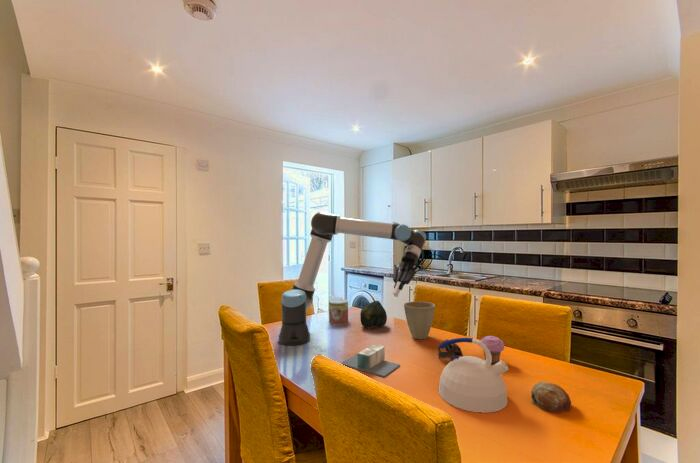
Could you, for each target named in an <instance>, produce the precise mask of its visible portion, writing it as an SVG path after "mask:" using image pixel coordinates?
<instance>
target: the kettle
mask: <svg viewBox="0 0 700 463" xmlns="http://www.w3.org/2000/svg"><path fill="white" fill-rule="evenodd" d="M447 340H448V341H446V342H444V343H442V344H441V345H439V344H438V346H439V347H440V349H441V350H442V349H445V347H446V346H448V345H450V344H452V345H453V343H455V344H457V343H468V344H469V343H471V344H472V343H473V344H474V345H477V346H478V347H480V348H481V349H482V351H483V353H484V352H485V355H486V360H485V359H482V358H480V357H476V356H471V355H468V356H467V355H466V356H464V355H463V357H461V356H455V357H450V358H451V359H450V360H451V361H449V363H448V364H447V365H446V366H444V367H443V370H442V372H441V374H440V376H439V385H438V386H439V388H438V394H439V395H440V397H441V398H442V400H444V401H445V402H446V403H447V404H449V405H450V406H452V407H455V408H457V409H460V410H463V411H467V412H472V413H479V412H481V413H483V414H485V413H494V412H495V413H496V412H498V411H501V410H503V409H504V408H506V407H507V405H508V396H507V388H506V386H507V385H506V383H505V381H504V379H503V377H502V375H503V374H504V373H506V372H508V371H509V367H508V365H507V364H506V362H505V361H504V360H502V359H500V361H499V362H498V363H492V356H491V353H490V350H489V349H488V348H487V346H486V345H485V344H483V343H482V342H481V341H480V340H479V339H477V338H473V337H457V338H452V339H447ZM492 364H493V365H492Z"/></svg>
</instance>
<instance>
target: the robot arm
mask: <svg viewBox="0 0 700 463" xmlns="http://www.w3.org/2000/svg"><path fill="white" fill-rule="evenodd" d="M310 227H311V230H310V232H309V233H310V234H309V235H310V237H311V240H310V243H309V245H308V248H307V251H306V255H305V257H304V261H303V264H302V267H301V270H300V273H299V276H298V278H297V280H296V281H295V282H294V283H293V285H292V289H289V290H286V291H285V292H283V293H282V294H281V302H280V303H281V327H280V331H279V334H278V343H279V344H281V345H284V346H298V345H304V344H306V343H308V342H310V340H311V334H310V331H309V328H308V325H307V310H308V309H309V308H310V307H311V306H312V303H313V300H314V295H315V291H316V288H315V287H314V285H315V282H316V278H317V275H318V273H319V270H320V267H321V264H322V261H323V258H324V254H325V252H326V248H327V245H328V243H330V242H332V239H333V236H334V235H336V236H337V235H338V234H344V235H346V234H347V235H352V236H353V235H354V236H363V237H370V238H377V239H384V240H385V239H387V240H393V241H400V242H401V243H403V244H405V245H406V248H405V251H404V253H403V255H402V256H401V261H400V262H399V264H394V265H393V267H394V268H393V269H394V270H393V277H392V281H393V282H394V285H393V291H392V294H393V296H394V297H396V298H397V297H399V294H400V292H401V291H403V289H404V286H405V285H409V284H410V282H411V281H412V279H413V278H414V277H415V276H416V273H417V272H419V271H420V269H419V266H418V265H417V263H418V261H419V258H420V256H421V253H422V250H423V247H424V246H425V244H426V239H427V235H426V232H424V231H423V230H419V229H414V230H411V229H410V228H411V227H410V226H408V225H406V224H404V223H403V224H400V223H398V222H395V221H393V222H392V223H389V222H382V221H381V222H380V221H374V220H373V221H372V220H366V219H357V218H348V217H341V216H340V215H339V214H333V213H329V212H327V211H318V212H316V213H315V214H314V215H313V216H312V218H311V221H310Z"/></svg>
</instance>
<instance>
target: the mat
mask: <svg viewBox="0 0 700 463" xmlns="http://www.w3.org/2000/svg"><path fill="white" fill-rule="evenodd" d="M340 363H342V364H344V365H346V366H345V367H347V366H348V367H347V368H351V369H355V370H359V371H361V370H362V371H361V372H364V371H366V372H365V373H368V372H369V374H371V373H372V374H371V375H374V374H375V376H379V377H382V378H386V377H387V376H388V375H390V374H391V373H393V372H394V371H395V370H396V369H399V367H400V366H401V364H399V363H396V362H391V361H388V360H385V359H384V360H383V361H381V362H380V363H378V364H377V365H375V366H373V367H372V368H370V369H369V370H368V369H364V368H361V367H358V364H357V353H356V354H355V355H353V356H351V357H348V358H347V359H345V360H343V361H340ZM344 365H343V366H344Z"/></svg>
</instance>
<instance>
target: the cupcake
mask: <svg viewBox="0 0 700 463" xmlns="http://www.w3.org/2000/svg"><path fill="white" fill-rule="evenodd" d="M479 341H481V342H482V343H483V344H485V345H486V346H487V348H488V349H489V350H490V353H491V356H492V363H491V364H496V363H498V362H500V360H501V359H500V358H501V353H502V352H503V351H504V349H505V343H504V342H503V340H501V339H500V338H499V337H497V336H494V335H487V336H484V337H482V338H481V339H480V340H479ZM483 356H484V360H486V355H485V352H484V351H483Z"/></svg>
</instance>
